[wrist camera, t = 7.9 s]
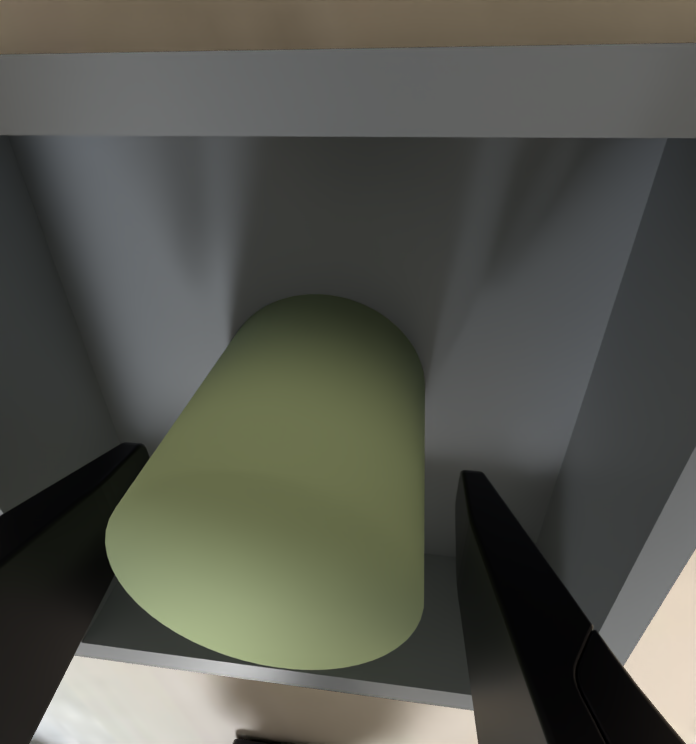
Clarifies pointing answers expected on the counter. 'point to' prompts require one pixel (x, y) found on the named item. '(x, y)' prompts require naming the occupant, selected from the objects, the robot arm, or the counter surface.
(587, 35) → the counter surface
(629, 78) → the charcoal bin
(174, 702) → the counter surface
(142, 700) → the counter surface
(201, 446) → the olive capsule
